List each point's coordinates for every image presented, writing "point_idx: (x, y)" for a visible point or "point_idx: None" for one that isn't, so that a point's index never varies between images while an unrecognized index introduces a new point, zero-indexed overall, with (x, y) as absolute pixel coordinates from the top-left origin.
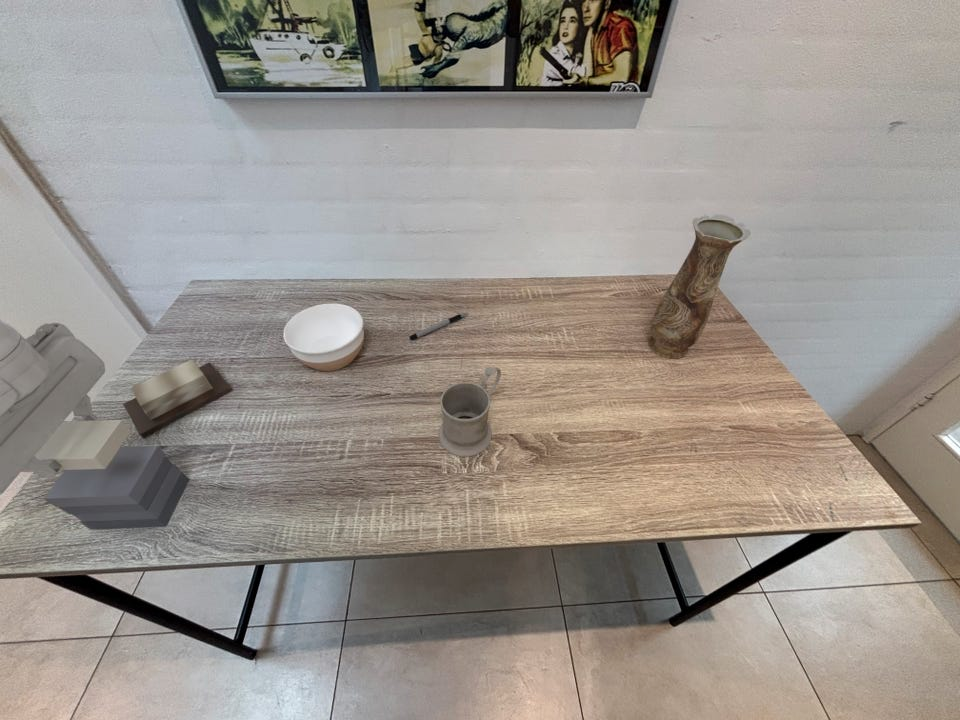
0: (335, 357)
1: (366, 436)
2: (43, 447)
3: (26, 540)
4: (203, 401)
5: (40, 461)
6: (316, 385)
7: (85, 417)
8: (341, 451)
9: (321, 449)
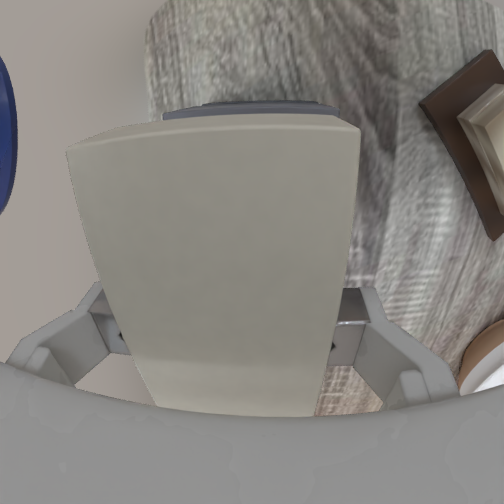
0: (461, 394)
1: (342, 404)
2: (165, 300)
3: (190, 7)
4: (478, 205)
5: (109, 323)
6: (448, 346)
7: (345, 361)
8: (326, 390)
9: (335, 375)
